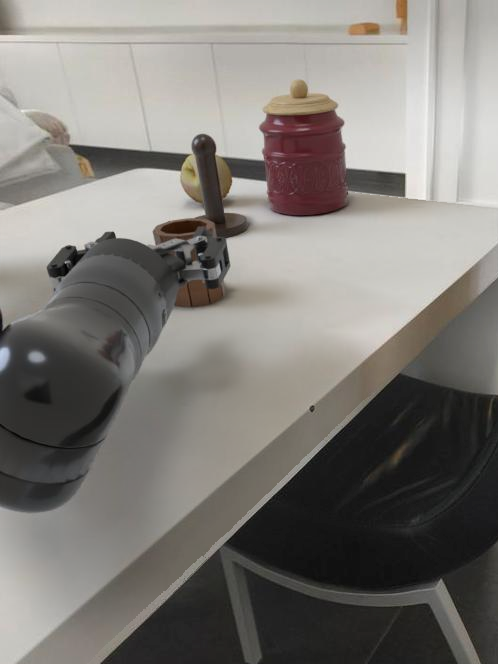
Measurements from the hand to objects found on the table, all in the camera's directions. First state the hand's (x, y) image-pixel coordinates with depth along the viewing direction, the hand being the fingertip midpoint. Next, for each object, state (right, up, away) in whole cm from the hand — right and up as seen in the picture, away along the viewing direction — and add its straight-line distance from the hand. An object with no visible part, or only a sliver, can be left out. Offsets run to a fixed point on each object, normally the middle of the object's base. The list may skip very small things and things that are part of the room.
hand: (158, 239), depth 64 cm
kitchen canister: (+10, +22, +46) cm, 52 cm away
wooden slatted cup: (0, -2, +15) cm, 15 cm away
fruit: (-6, +23, +50) cm, 55 cm away
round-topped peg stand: (-3, +15, +38) cm, 41 cm away
